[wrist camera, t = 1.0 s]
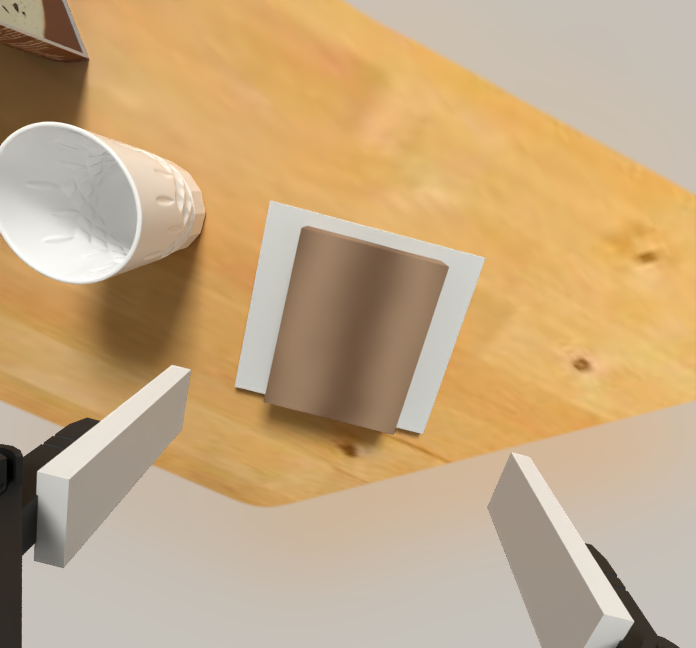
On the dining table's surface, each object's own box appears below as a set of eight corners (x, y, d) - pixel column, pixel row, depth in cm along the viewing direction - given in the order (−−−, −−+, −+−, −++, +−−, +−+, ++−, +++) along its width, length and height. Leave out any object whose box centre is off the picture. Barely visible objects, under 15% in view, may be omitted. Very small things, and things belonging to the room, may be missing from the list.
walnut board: (272, 384, 33) (263, 402, 30) (307, 225, 29) (301, 227, 26) (391, 414, 33) (393, 434, 30) (441, 260, 29) (449, 266, 26)
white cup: (222, 255, 31) (157, 277, 21) (124, 264, 31) (16, 290, 22) (202, 144, 28) (119, 112, 19) (97, 155, 29) (-37, 131, 19)
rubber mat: (237, 382, 34) (234, 386, 33) (272, 200, 29) (270, 200, 28) (421, 428, 34) (422, 434, 33) (482, 256, 30) (485, 258, 29)
